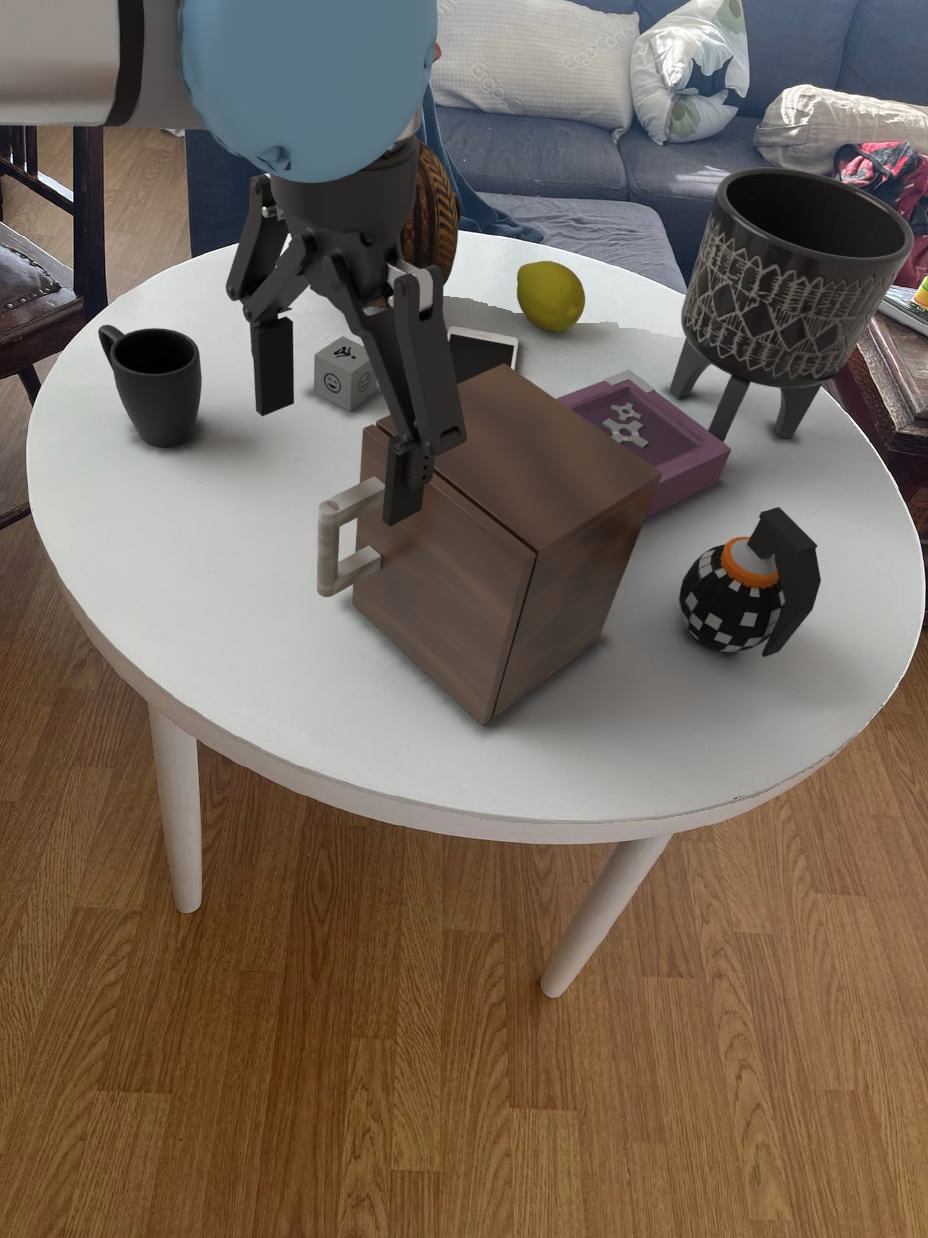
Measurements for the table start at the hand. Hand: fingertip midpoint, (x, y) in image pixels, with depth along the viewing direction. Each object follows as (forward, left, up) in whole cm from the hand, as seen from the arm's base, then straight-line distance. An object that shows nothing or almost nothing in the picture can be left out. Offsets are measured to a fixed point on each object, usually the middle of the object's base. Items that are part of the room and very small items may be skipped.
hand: (335, 459), depth 61 cm
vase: (+17, +56, -22) cm, 62 cm away
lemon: (+38, +50, -22) cm, 67 cm away
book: (+32, +20, -22) cm, 44 cm away
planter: (+53, +26, -22) cm, 63 cm away
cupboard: (+14, +2, -22) cm, 27 cm away
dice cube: (+9, +38, -22) cm, 45 cm away
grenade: (+36, -4, -22) cm, 43 cm away
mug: (-12, +35, -22) cm, 43 cm away
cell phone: (+25, +39, -22) cm, 51 cm away
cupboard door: (+5, -3, -22) cm, 23 cm away
